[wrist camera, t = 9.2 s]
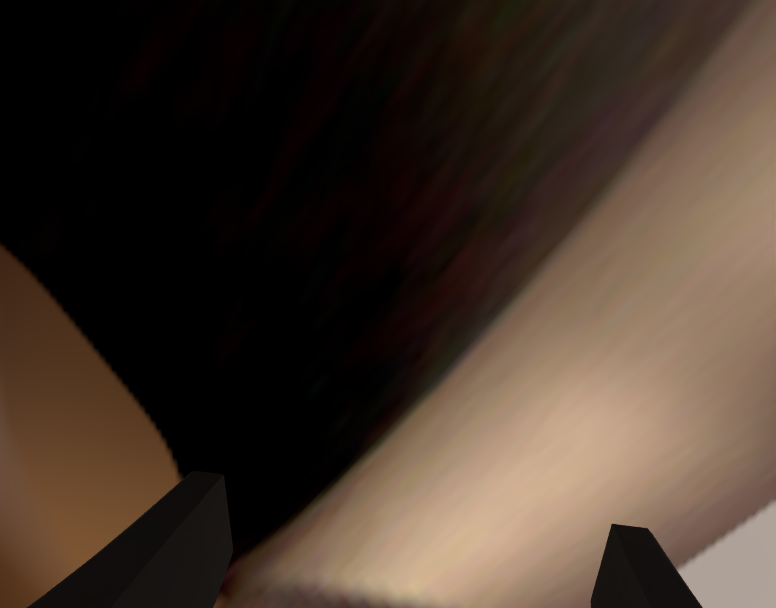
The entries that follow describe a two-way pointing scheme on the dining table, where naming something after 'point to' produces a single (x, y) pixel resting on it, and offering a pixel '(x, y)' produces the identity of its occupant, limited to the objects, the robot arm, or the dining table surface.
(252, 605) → the dining table surface
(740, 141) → the dining table surface
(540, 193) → the dining table surface
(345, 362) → the dining table surface
